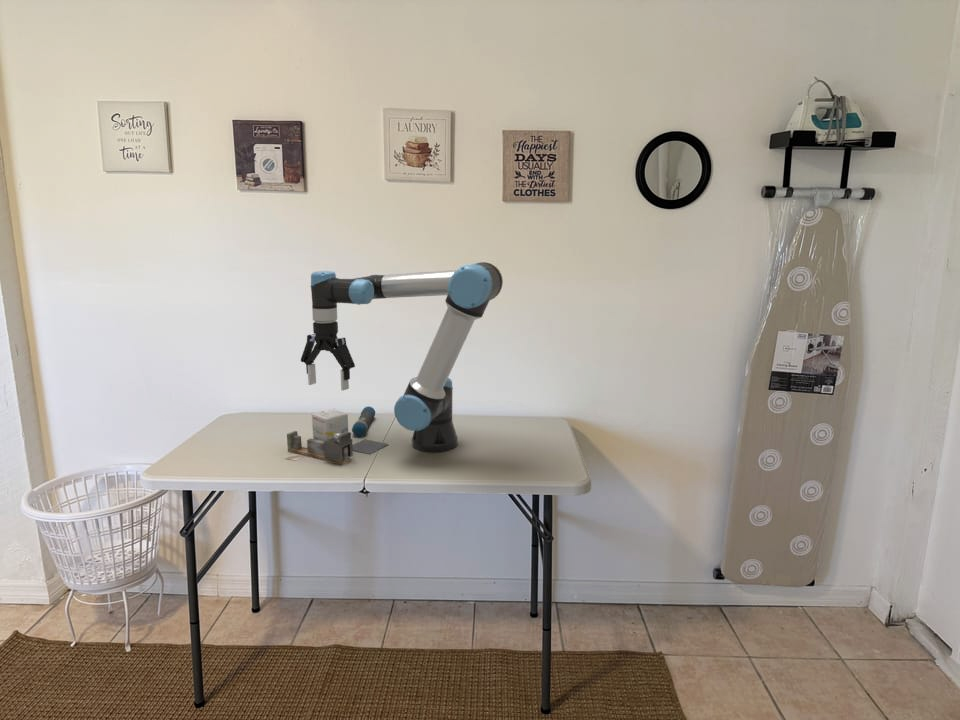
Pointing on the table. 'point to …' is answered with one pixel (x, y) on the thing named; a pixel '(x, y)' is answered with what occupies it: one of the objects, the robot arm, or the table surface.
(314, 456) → the vise
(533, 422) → the table surface
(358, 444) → the mat
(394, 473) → the table surface
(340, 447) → the clip
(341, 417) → the ink box
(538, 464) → the table surface
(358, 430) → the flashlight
